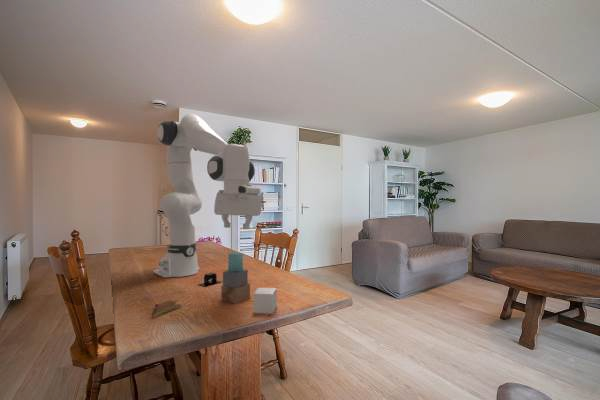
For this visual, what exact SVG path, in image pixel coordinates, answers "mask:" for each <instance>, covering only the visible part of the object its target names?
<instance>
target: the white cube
mask: <svg viewBox="0 0 600 400" xmlns="http://www.w3.org/2000/svg"><path fill="white" fill-rule="evenodd" d="M277 299H278V298H277V288H276V287H258V288H256V290H255V292H254V293H253V313H254V314H255V313H256V314H269V315H270V314H271V315H273V314H274V312H275V310H276V309H277V304H278V303H277Z"/></svg>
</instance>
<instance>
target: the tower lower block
mask: <svg viewBox="0 0 600 400" xmlns="http://www.w3.org/2000/svg"><path fill="white" fill-rule="evenodd" d="M220 289H221V290H220V291H221V292H220V295H221V296H220V297H221V299H220V300H222V301H225V302H229V303H231V304H239V303H241V302H243V301H246V300H247V299H250V298H251V284H250V283H248V284H246V285H243V286H241V287H238V288H232V287H227V286H223V284H222V285H221V288H220Z"/></svg>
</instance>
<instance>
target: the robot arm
mask: <svg viewBox="0 0 600 400" xmlns="http://www.w3.org/2000/svg"><path fill="white" fill-rule="evenodd" d="M157 128H158V129H157V138H158V141H159V142H160V143H161V144H162V145H165V146H167V148H166V169H167V182H168V183H169V184H170V185H171V186H172V189H173V192H170V193H168V194H165V195H163V197H162V198H161V200H160V209H161V211H162V212H163V213H164V214H165V215H166V220H167V223H168V226H169V227H168V228H169V245H168V246H166V247H167V252H166V253H165V255H163V257H162V258H160V260H159V262H158V268H156V269H153V273H154V274H156V275H158V276H160V277H162V278H181V277H187V276H193V275H195V274H198V273H199V271H200V270H201V269H200V267H199V264H198V254H197V252H196V250H197V244H196V241H195V239H196V232H195V231H196V228H195V226H194V224H193V222H192V219H191V215H194V214H196V213H197V212H199V211H200V210H201V209H202V206H203V205H202V204H203V201H202V199H201V197H199V194H198V191H197V189H196V185H195V181H194V177H193V166H192V164H193V163H192V158H191V157H192V156H191V151H192V150H194V151H199V152H201V153H202V152H203V153H207V154H211V155H214V156H212V157H211V158H210V159H209V160H208V162H207V165H206V168H207V174H208V175H209V177H210V178H211V180H213V181H216V182H217V181H218V182H223V189H219V190H218V191H217V193H216V196H215V200H214V207H213V210H214V214H215V215H218V216H221V219H222V222H223V228H227V229H228V228H231V222H229V218H230V217H229V216H243V217H244V219H245V221H244V223H242V229H244V230H249V229H250V225H251V222H252V221H253V217H254V216H255V217H257V216H260V215H261V213H262V197H261V195H260V194H261V187H257V186H256V185H252V184H250V181H252V180H253V178H254V176H255V173H256V169H255V167H254V164H253V162H252V160H251V159H250V153H249V150H248V147H246V146H245V145H242V144H237V143H229V142H227V141H226V140H225V139H223V138H222V137H221V136H220V135H219V134H217V133H216V131H214V130H213V129H212V128H211V127H210V126H209V124H208V123H207V122H206V121H205V120H204V119H202V118H201V116H199V115H197V114H194V113H188V114H184V116H183V117H182V118H181V119H180V122H179V121H174V120H170V121H163V122H161V123H159V125H158V127H157Z"/></svg>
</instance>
